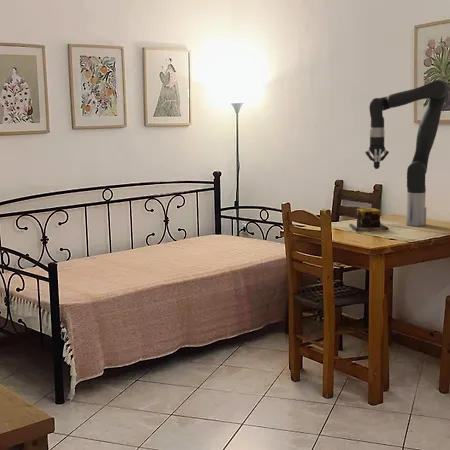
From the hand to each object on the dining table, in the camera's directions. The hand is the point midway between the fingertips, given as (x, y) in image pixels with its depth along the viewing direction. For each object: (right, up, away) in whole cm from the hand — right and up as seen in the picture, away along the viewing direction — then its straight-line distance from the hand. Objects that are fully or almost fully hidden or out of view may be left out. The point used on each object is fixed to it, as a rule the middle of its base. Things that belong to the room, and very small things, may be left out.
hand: (376, 168), depth 374 cm
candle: (-8, -32, -16) cm, 37 cm away
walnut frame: (-8, -32, -15) cm, 36 cm away
